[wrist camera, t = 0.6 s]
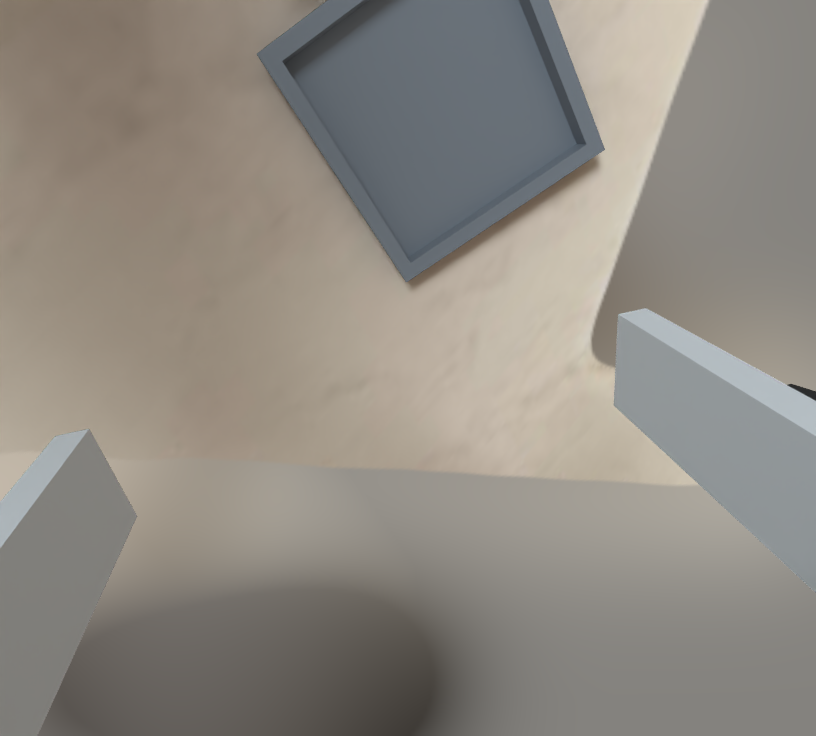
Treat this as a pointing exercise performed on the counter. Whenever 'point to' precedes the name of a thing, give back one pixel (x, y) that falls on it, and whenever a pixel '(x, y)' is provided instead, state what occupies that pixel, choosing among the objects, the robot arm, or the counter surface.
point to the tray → (436, 112)
